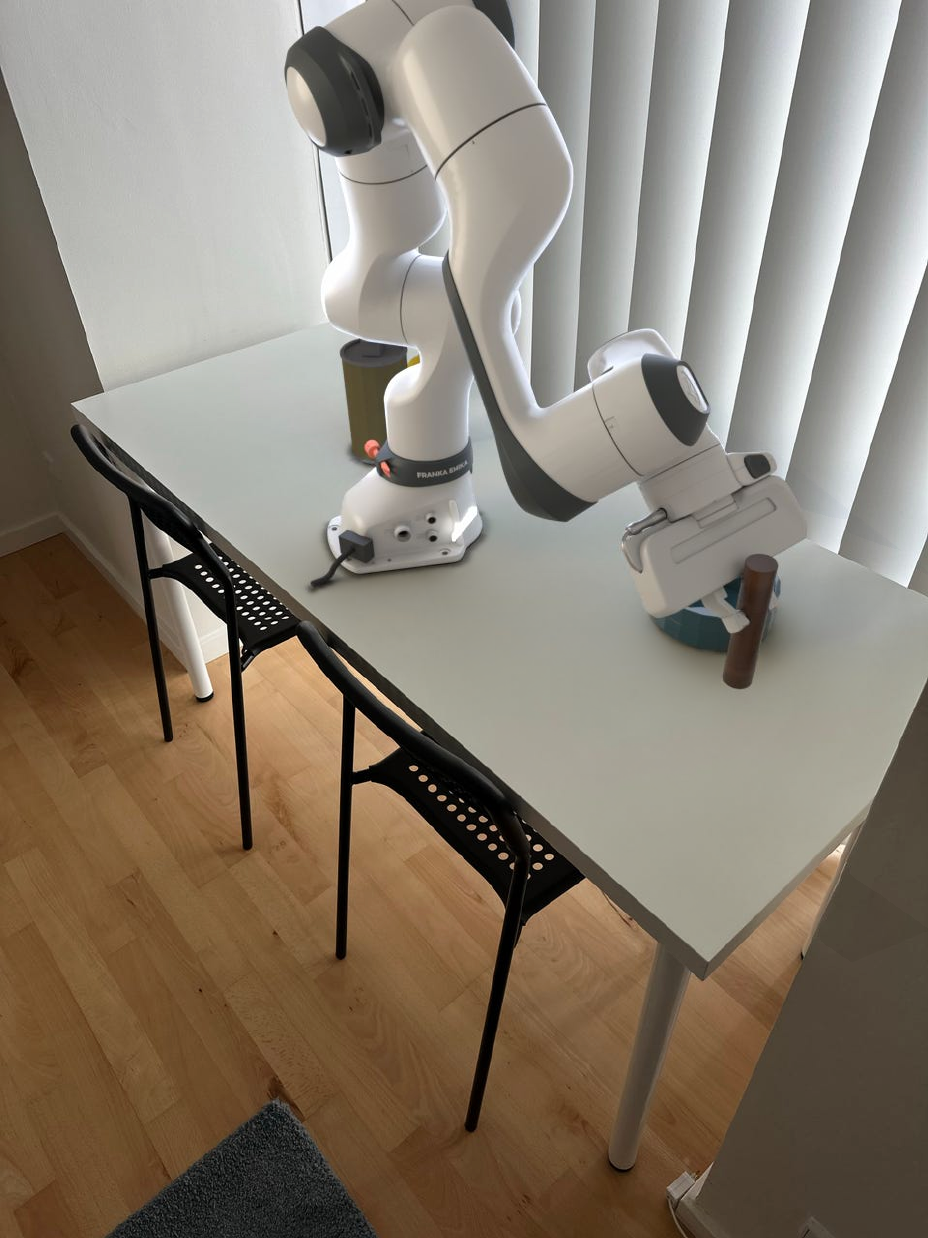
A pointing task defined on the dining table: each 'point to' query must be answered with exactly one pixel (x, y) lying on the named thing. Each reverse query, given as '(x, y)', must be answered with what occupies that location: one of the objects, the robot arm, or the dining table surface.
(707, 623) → the bowl
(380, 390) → the canister
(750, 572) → the stick
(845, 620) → the dining table surface
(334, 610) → the dining table surface
